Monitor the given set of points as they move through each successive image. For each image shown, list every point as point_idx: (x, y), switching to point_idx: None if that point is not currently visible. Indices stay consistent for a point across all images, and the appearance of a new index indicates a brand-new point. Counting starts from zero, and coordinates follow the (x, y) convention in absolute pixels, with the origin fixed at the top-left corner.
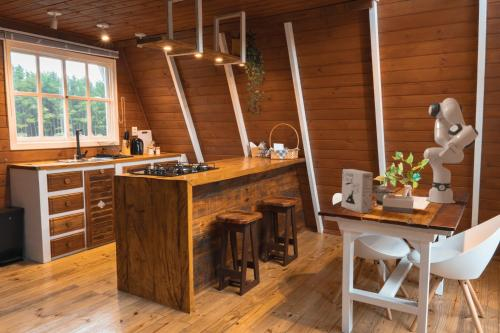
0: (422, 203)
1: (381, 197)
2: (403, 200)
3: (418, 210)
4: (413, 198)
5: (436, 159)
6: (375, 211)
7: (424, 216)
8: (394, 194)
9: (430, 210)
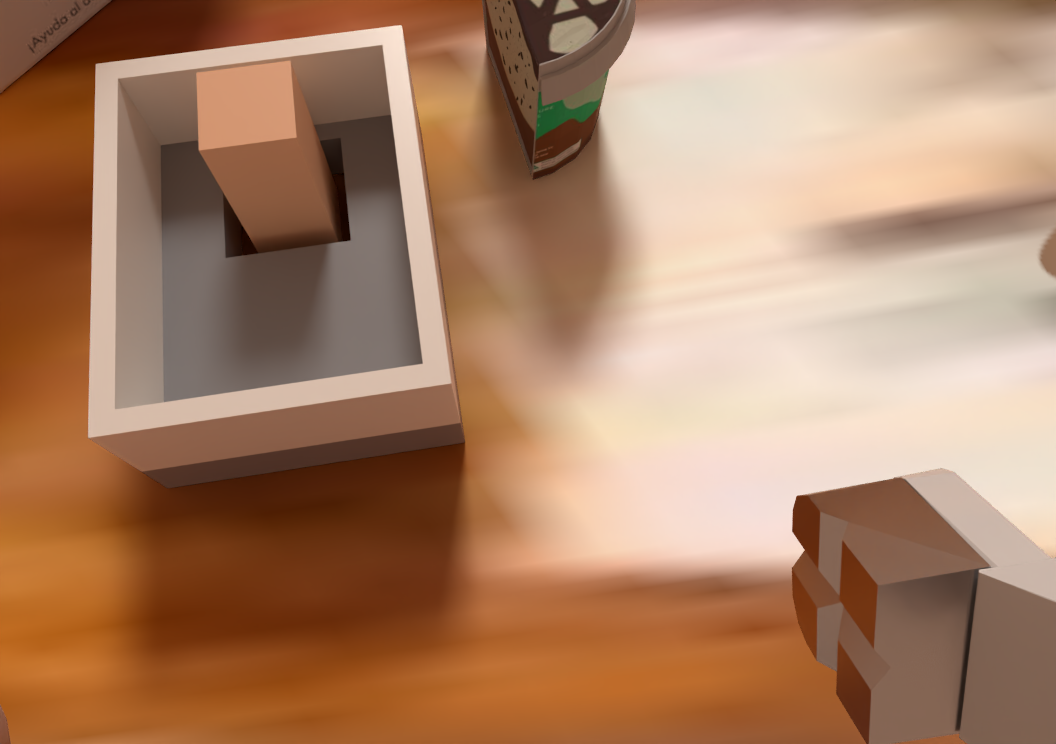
0: (988, 486)
1: (499, 20)
2: (94, 307)
3: (413, 520)
4: (299, 404)
5: (870, 619)
6: (81, 120)
7: (34, 654)
8: (222, 138)
9: (512, 668)
